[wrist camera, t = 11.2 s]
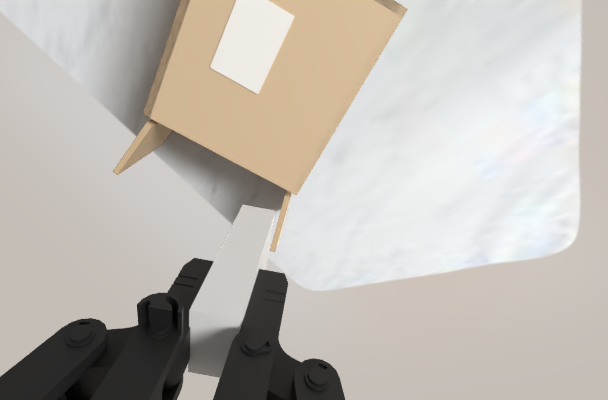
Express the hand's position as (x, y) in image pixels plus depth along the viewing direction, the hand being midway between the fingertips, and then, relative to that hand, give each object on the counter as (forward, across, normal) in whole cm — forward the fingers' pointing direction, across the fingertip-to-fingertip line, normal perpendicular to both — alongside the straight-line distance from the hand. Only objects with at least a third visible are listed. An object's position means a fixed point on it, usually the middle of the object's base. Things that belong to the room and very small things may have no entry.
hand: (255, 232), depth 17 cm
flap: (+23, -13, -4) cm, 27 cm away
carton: (+24, -3, +5) cm, 25 cm away
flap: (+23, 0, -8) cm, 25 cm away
